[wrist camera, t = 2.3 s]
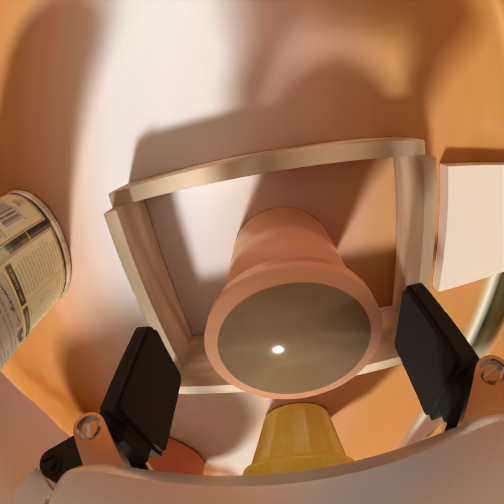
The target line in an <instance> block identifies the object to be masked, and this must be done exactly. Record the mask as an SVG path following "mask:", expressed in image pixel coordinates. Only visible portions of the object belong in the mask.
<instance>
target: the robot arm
mask: <svg viewBox="0 0 504 504" xmlns="http://www.w3.org/2000/svg"><path fill="white" fill-rule="evenodd" d="M395 348H396V351H397V353H398V355H399V357H400V359H401V361H402V363H403V365H404V368H405V370H406V372H407V374H408V376H409V378H410V381H411V383H412V385H413V387H414V390H415V392H416V394H417V396H418V399H419V401H420V403H421V406H422V408H423V411H424V413H425V414H426V415H430V418H431V420H434V419H437V418H439V417H441V416H442V418H443V420H444V424H443V429H442V431H441V433H440V434H438V435H435V436H433V437H430V438H428V439H425V440H423V441H420V442H417V443H414V444H411V445H408V446H406V447H403V448H400V449H397V450H394V451H390V452H387V453H384V454H380V455H377V456H373V457H370V458H366V459H362V460H358V461H354V462H349V463H345V464H340V465H335V466H330V467H324V468H319V469H312V470H306V471H298V472H290V473H280V474H267V475H248V476H210V475H191V474H179V473H169V472H160V471H154V470H153V468H152V467H151V465H150V464H149V462H148V459H149V456H156V457H161V456H162V451H165V450H166V447H167V443H168V438H169V434H170V429H171V424H172V420H173V415H174V411H175V407H176V402H177V398H178V394H179V389H180V385H181V374H180V372H179V371H178V369H177V367H176V365H175V363H174V362H173V360H172V358H171V356H170V354H169V352H168V350H167V349H166V347H165V345H164V343H163V341H162V339H161V337H160V335H159V333H158V331H157V330H154V329H153V328H152V327H151V326H148V327H138V328H136V330H135V332H134V334H133V336H132V338H131V340H130V342H129V344H128V346H127V348H126V351H125V353H124V355H123V357H122V359H121V361H120V364H119V366H118V368H117V370H116V373H115V375H114V377H113V379H112V382H111V384H110V386H109V389H108V391H107V393H106V396H105V398H104V401H103V403H102V405H101V408H100V409H101V412H100V414H99V413H96V412H88V413H85V414H83V415H82V416H80V417H79V418H78V420H77V421H76V423H75V424H74V428H73V434H74V436H72V437H70V438H69V439H67V440H65V441H64V442H62V443H60V444H58V445H57V446H55V447H53V448H51V449H49V450H48V451H46V452H45V453H44V454H43V456H42V457H41V460H40V470H39V469H38V468H36V469H35V470H34V471H33V472H32V473H31V474H30V475H29V476H28V477H27V478H26V479H25V480H24V481H23V482H22V483H21V484H20V485H19V486H18V487H17V488H16V490H15V491H14V494H13V501H14V504H504V360H503V359H501V358H500V357H497V356H495V355H488V356H484V357H482V358H481V359H479V357H478V356H477V354H476V353H475V351H474V350H473V348H472V347H471V346H470V344H469V343H468V341H467V340H466V338H465V337H464V336H463V334H462V333H461V331H460V330H459V329H458V327H457V326H456V325H455V323H454V322H453V321H452V319H451V318H450V317H449V315H448V314H447V313H446V312H445V311H444V310H443V308H442V307H441V306H440V304H439V303H438V302H437V301H436V299H435V298H434V297H433V296H432V294H431V293H430V292H429V291H428V289H427V288H426V287H425V286H424V285H423V284H422V283H416V284H412V285H408V286H407V287H406V290H404V291H403V292H402V299H401V306H400V313H399V319H398V326H397V331H396V337H395Z"/></svg>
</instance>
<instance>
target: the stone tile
mask: <svg viewBox="0 0 504 504" xmlns="http://www.w3.org/2000/svg"><path fill="white" fill-rule="evenodd" d="M501 272H504V162H468V163H442V164H440V212H439V230H438V243H437V253H436V262H435V270H434V277H433V284H432V285H433V286H434V287H435V288H436V290H437V291H438V292H439V291H443V290H446V289H450V288H453V287H457V286H460V285H464V284H467V283H470V282H474V281H477V280H480V279H483V278H486V277H489V276H492V275H495V274H498V273H501Z"/></svg>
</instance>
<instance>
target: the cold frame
mask: <svg viewBox="0 0 504 504" xmlns="http://www.w3.org/2000/svg"><path fill="white" fill-rule="evenodd" d="M387 157H394V167H395V183H396V260H395V277H394V290H393V300H392V305H390V306H386V307H381V308H380V311H381V314H382V321H383V331H382V336H381V341H380V343H379V346H378V348H377V350H376V352H375V354H374V356H373V357H372V359H371V360H370V361H369V363H368V364H367V365H366V366H365V367H364V368H363V369H362V370H361V371H360V372H359V373H358V374H357V375H360V374H365V373H369V372H373V371H377V370H381V369H385V368H389V367H392V366H396V365H400V364H403V363H402V361H401V359H400V357H399V355H398V353H397V351H396V348H395V337H396V331H397V326H398V319H399V313H400V306H401V299H402V292H403V291H404V290H406V287H407V286H408V285H412V284H416V283H422V284H423V285H424V286H425V287H426V288H427V289H428V290H429V284H430V277H431V270H432V261H433V252H434V241H435V227H436V202H437V177H436V158H435V157H431V156H427V155H426V152H425V140H422V139H416V138H410V137H382V138H367V139H355V140H344V141H334V142H325V143H317V144H309V145H301V146H294V147H288V148H281V149H275V150H269V151H263V152H257V153H252V154H246V155H241V156H236V157H231V158H226V159H221V160H217V161H212V162H208V163H203V164H199V165H195V166H191V167H187V168H183V169H179V170H175V171H171V172H167V173H163V174H160V175H156V176H152V177H149V178H145V179H142V180H138V181H135V182H132V183H128V184H126V185H124V186H122V187H120V188H119V189H117V190H115V191H113V192H111V193H109V198H110V201H111V204H112V207H113V208H112V209H110V210H109V211H107V212H106V213H104V216H105V219H106V222H107V225H108V228H109V231H110V234H111V236H112V239H113V242H114V245H115V247H116V250H117V253H118V255H119V258H120V260H121V263H122V266H123V268H124V270H125V273H126V275H127V278H128V280H129V283H130V285H131V287H132V290H133V292H134V294H135V296H136V299H137V301H138V303H139V305H140V308H141V310H142V312H143V314H144V316H145V318H146V320H147V322H148V324H149V326H151V327H152V328H153V329H154V330H157V331H158V333H159V335H160V337H161V339H162V341H163V343H164V345H165V347H166V349H167V350H168V352H169V354H170V356H171V358H172V360H173V362H174V363H175V365H176V367H177V369H178V371H179V372H180V374H181V385H180V389H179V394H211V393H233V392H245V391H243V390H241V389H238V388H237V387H235V386H233V385H232V384H230V383H229V382H227V381H226V380H225V379H223V378H222V377H221V376H220V375H219V374H218V373H217V372H216V370H215V369H214V368H213V366H212V365H211V363H210V361H209V359H208V357H207V354H206V351H205V345H204V335H195V336H193V335H192V333H191V330H190V328H189V325H188V323H187V321H186V318H185V316H184V313H183V311H182V308H181V305H180V303H179V300H178V298H177V295H176V292H175V290H174V287H173V284H172V282H171V279H170V276H169V273H168V271H167V268H166V265H165V262H164V259H163V256H162V253H161V250H160V247H159V244H158V241H157V238H156V235H155V232H154V229H153V226H152V223H151V220H150V216H149V213H148V210H147V206H146V203H145V200H144V199H147V198H151V197H155V196H158V195H162V194H167V193H171V192H175V191H179V190H183V189H188V188H192V187H196V186H201V185H205V184H210V183H215V182H220V181H225V180H230V179H235V178H240V177H245V176H251V175H256V174H262V173H268V172H274V171H280V170H286V169H292V168H299V167H306V166H313V165H321V164H328V163H337V162H345V161H354V160H364V159H375V158H387Z"/></svg>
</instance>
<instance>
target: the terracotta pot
mask: <svg viewBox="0 0 504 504" xmlns="http://www.w3.org/2000/svg"><path fill="white" fill-rule="evenodd" d="M382 331H383V321H382V314H381V311H380V308H379V306H378V304H377V302H376V300H375V298H374V297H373V295H372V293H371V291H370V290H369V288H368V286H367V285H366V284H365V282H364V281H363V280H362V279H361V278H360V277H359V276H358V275H356V274H355V273H354V272H353V271H351V270H349V269H348V268H346V266H345V264H344V262H343V260H342V258H341V257H340V255H339V253H338V251H337V249H336V248H335V246H334V244H333V242H332V240H331V239H330V237H329V235H328V233H327V232H326V230H325V228H324V227H323V225H322V224H321V223H320V222H319V221H318V220H317V219H316V218H315V217H313V216H312V215H310V214H309V213H307V212H304V211H302V210H299V209H296V208H289V207H279V208H272V209H268V210H265V211H263V212H261V213H259V214H257V215H255V216H254V217H252V218H251V219H250V220H249V221H248V222H246V223H245V225H244V226H243V227H242V228H241V230H240V232H239V233H238V235H237V238H236V241H235V244H234V249H233V253H232V258H231V263H230V267H229V272H228V277H227V281H226V286H225V287H224V288H223V289H222V291H221V292H220V293H219V294H218V296H217V297H216V299H215V301H214V302H213V305H212V307H211V309H210V312H209V316H208V320H207V324H206V329H205V333H204V345H205V351H206V354H207V357H208V359H209V361H210V363H211V365H212V366H213V368H214V369H215V370H216V372H217V373H218V374H219V375H220V376H221V377H222V378H223V379H225V380H226V381H227V382H229V383H230V384H232V385H233V386H235V387H237V388H238V389H241V390H243V391H245V392H247V393H250V394H253V395H257V396H261V397H266V398H272V399H298V398H305V397H310V396H315V395H318V394H322V393H324V392H327V391H330V390H332V389H334V388H336V387H339V386H340V385H342V384H344V383H346V382H347V381H349V380H350V379H352V378H353V377H354V376H356V375H357V374H358V373H359V372H360V371H361V370H362V369H363V368H364V367H365V366H366V365H367V364H368V363H369V361H370V360H371V359H372V357H373V356H374V354H375V352H376V350H377V348H378V346H379V343H380V341H381V336H382Z"/></svg>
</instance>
